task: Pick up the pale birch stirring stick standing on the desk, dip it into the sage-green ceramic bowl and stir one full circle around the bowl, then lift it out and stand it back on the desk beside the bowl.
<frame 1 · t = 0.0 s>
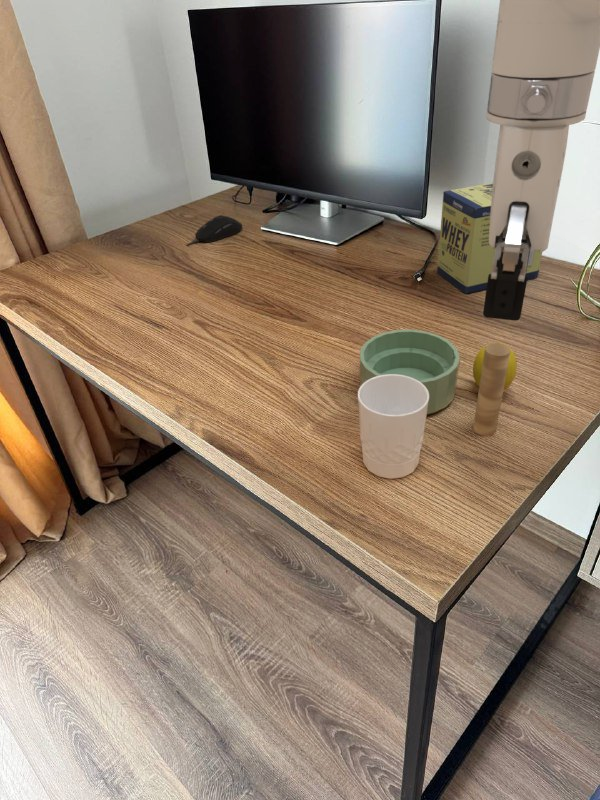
hand: (505, 293, 57), 22 cm above the table, tool pointing down, fingers open, 9 cm apart
gaming mouse: (214, 237, 135), on the table
protein box: (486, 276, 110), on the table
white cup: (390, 461, 71), on the table
stick: (484, 428, 75), on the table
lemon: (490, 393, 81), on the table
bowl: (406, 390, 82), on the table
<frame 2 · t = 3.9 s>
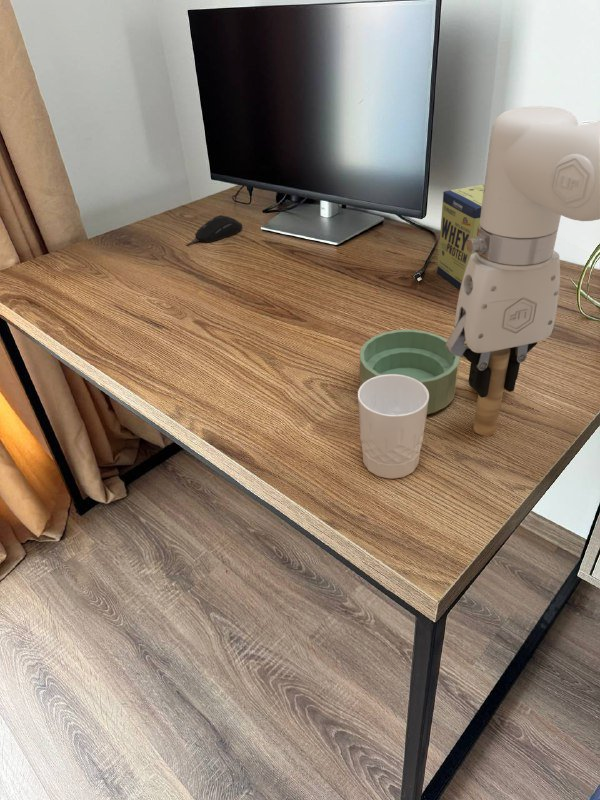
hand: (491, 387, 71), 7 cm above the table, tool pointing down, fingers closed on stick, 2 cm apart
stick: (484, 428, 75), on the table, touching gripper
everything else where it was.
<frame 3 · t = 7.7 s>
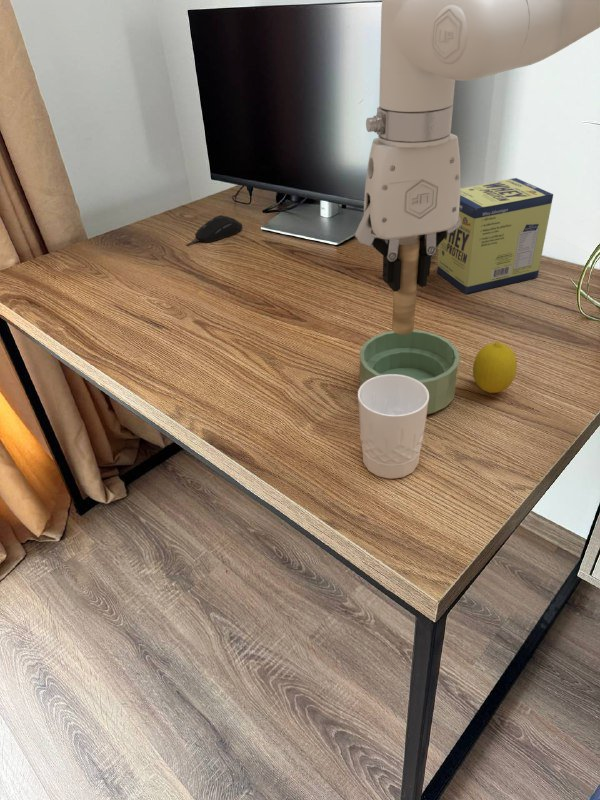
hand: (405, 283, 72), 17 cm above the table, tool pointing down, fingers closed on stick, 2 cm apart
stick: (402, 329, 76), point 10 cm above the table, touching gripper
everything else where it was.
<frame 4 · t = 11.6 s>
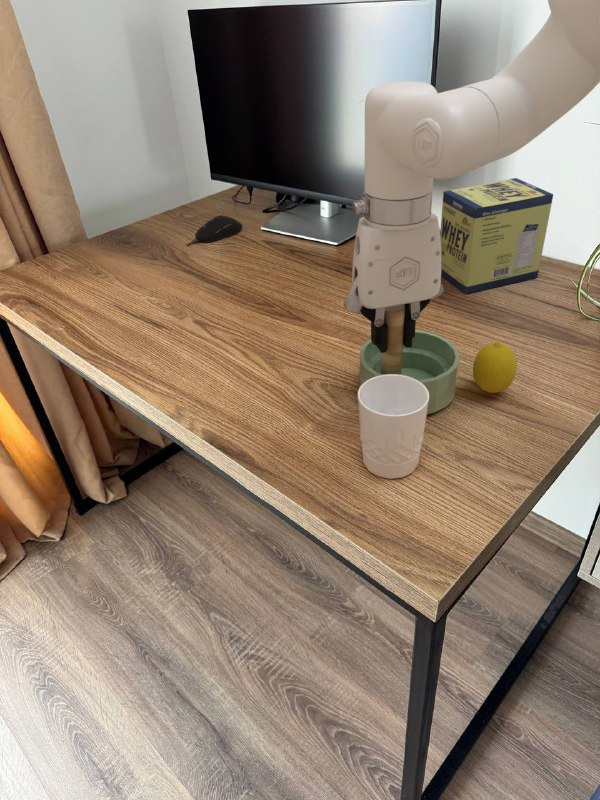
hand: (392, 344, 77), 8 cm above the table, tool pointing down, fingers closed on stick, 2 cm apart
stick: (390, 384, 81), point 2 cm above the table, touching gripper
everything else where it was.
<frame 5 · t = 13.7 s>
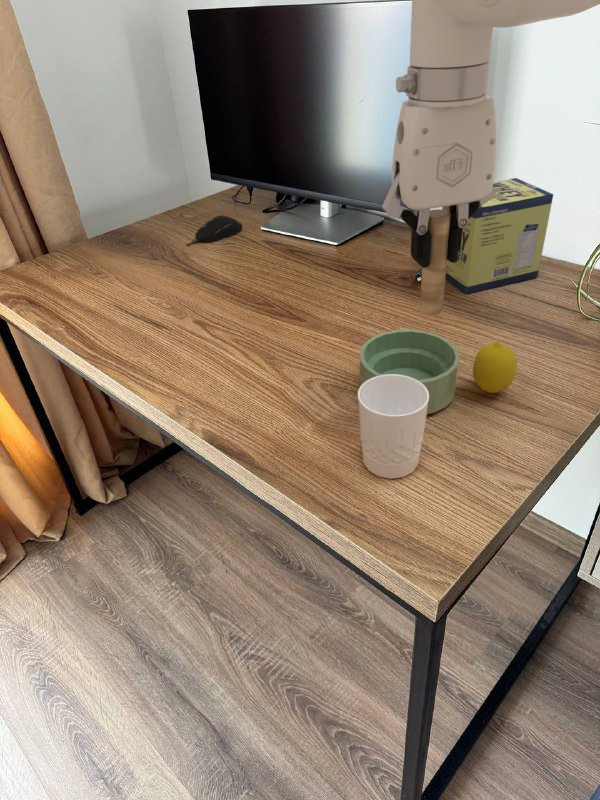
hand: (434, 259, 68), 20 cm above the table, tool pointing down, fingers closed on stick, 2 cm apart
stick: (430, 309, 72), point 14 cm above the table, touching gripper
everything else where it was.
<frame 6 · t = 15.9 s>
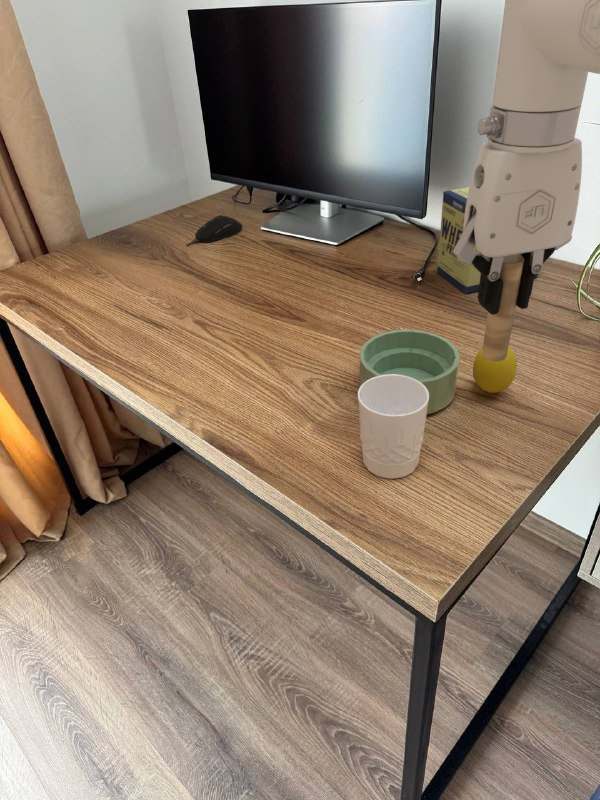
hand: (502, 304, 64), 18 cm above the table, tool pointing down, fingers closed on stick, 2 cm apart
stick: (494, 354, 68), point 11 cm above the table, touching gripper
everything else where it was.
when the fingers open (7 cm above the table, at t = 19.1 s): stick stays where it is, on the table.
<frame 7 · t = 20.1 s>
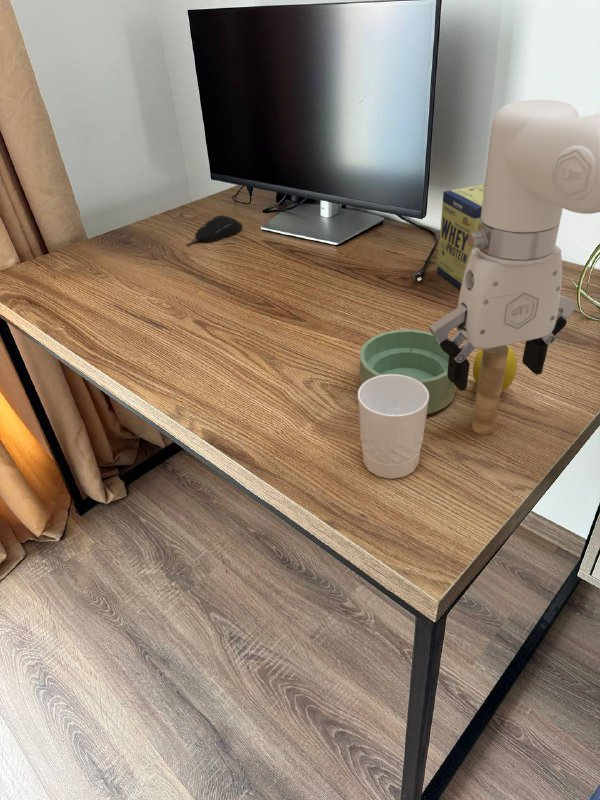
hand: (494, 376, 70), 8 cm above the table, tool pointing down, fingers open, 9 cm apart
stick: (482, 427, 75), on the table
everything else where it was.
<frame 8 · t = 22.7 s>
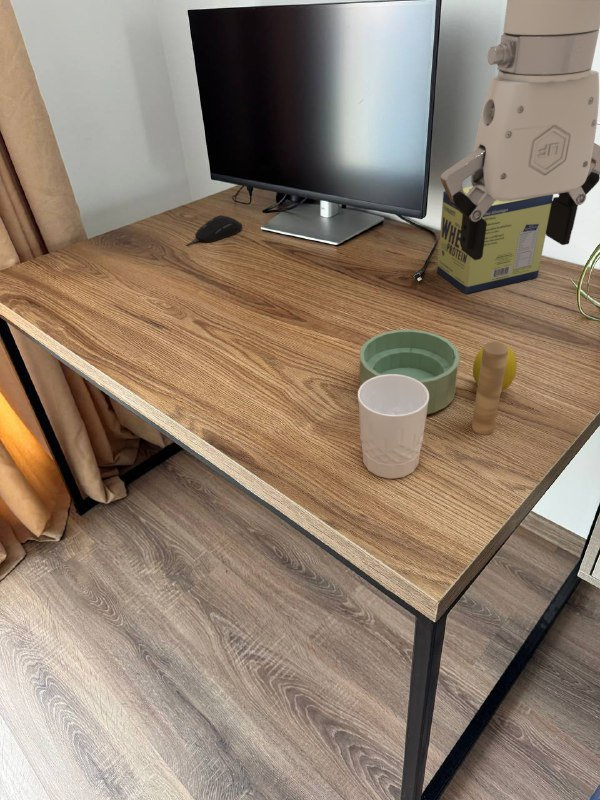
hand: (514, 247, 60), 24 cm above the table, tool pointing down, fingers open, 9 cm apart
nothing on the table moved.
at the end: stick inside the target area (0.3 cm from its centre), on the table; stick tilted 0°; the gripper is holding nothing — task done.
